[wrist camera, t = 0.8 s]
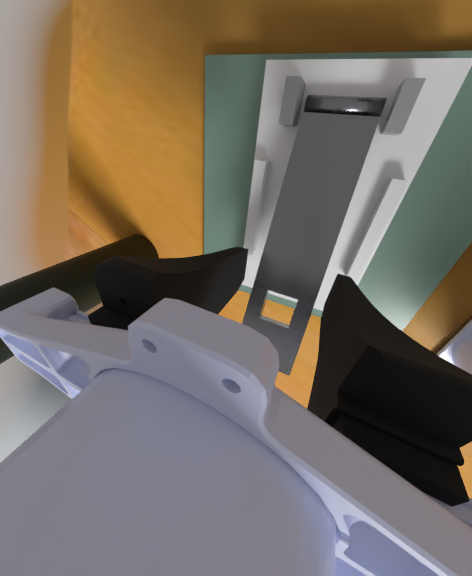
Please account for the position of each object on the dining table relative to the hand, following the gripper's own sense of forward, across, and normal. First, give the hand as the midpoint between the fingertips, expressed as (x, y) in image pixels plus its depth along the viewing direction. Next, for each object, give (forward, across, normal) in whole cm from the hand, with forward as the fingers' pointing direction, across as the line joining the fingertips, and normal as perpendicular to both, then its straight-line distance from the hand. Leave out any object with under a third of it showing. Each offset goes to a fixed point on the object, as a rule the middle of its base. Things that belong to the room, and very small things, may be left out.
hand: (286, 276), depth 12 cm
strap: (+3, 0, -1) cm, 3 cm away
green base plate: (+10, 0, -1) cm, 10 cm away
